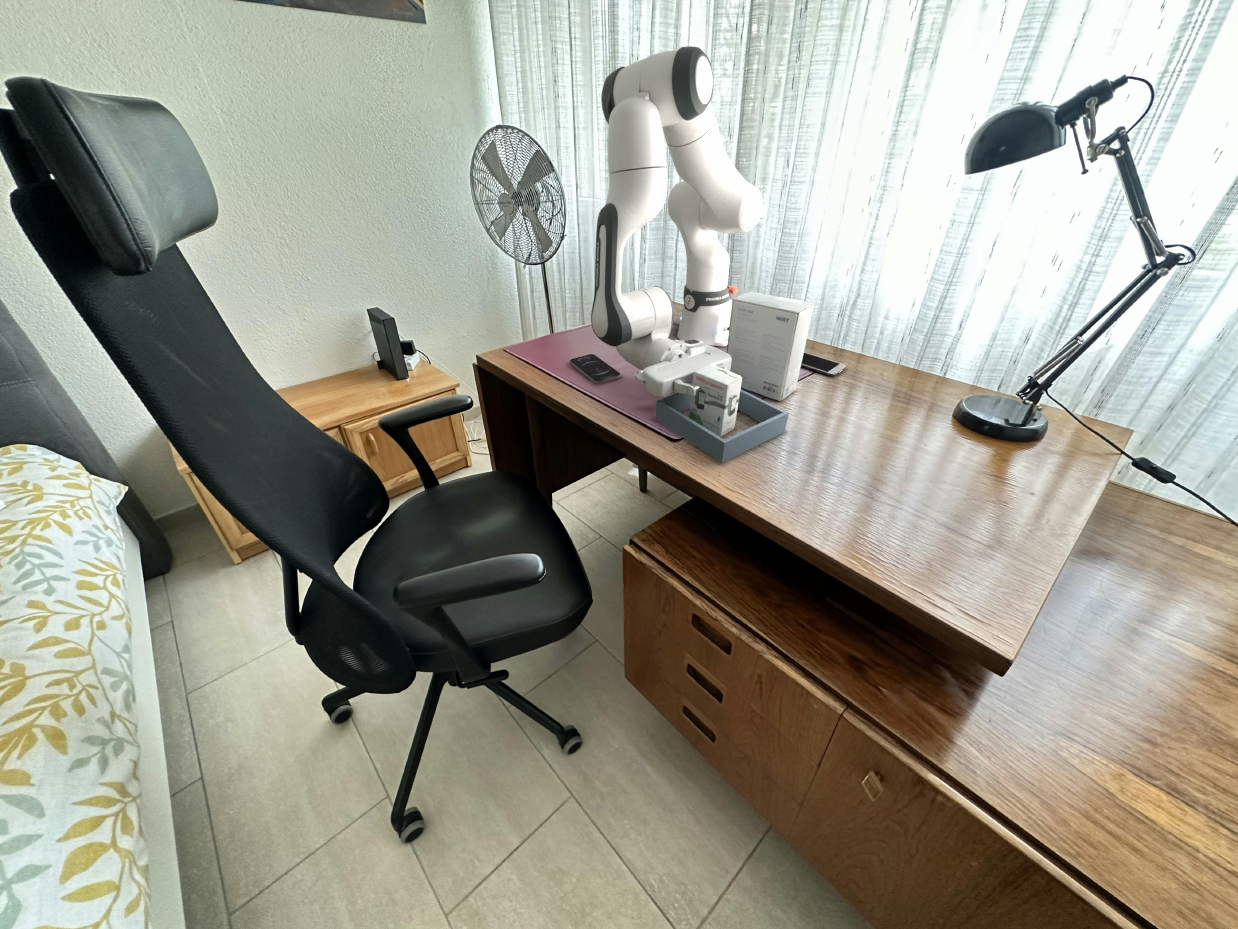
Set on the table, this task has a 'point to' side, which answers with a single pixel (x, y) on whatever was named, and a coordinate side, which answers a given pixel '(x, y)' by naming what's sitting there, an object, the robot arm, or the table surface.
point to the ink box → (715, 399)
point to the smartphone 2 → (821, 364)
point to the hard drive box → (768, 342)
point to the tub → (711, 442)
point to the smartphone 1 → (595, 368)
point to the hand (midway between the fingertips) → (714, 385)
